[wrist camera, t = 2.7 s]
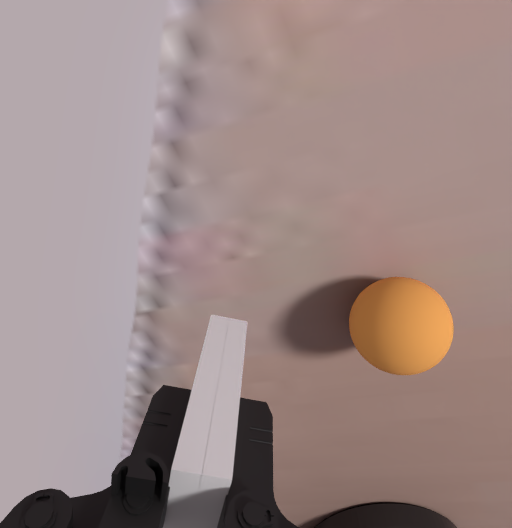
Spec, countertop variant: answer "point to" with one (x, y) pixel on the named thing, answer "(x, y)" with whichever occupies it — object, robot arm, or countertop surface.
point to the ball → (401, 326)
